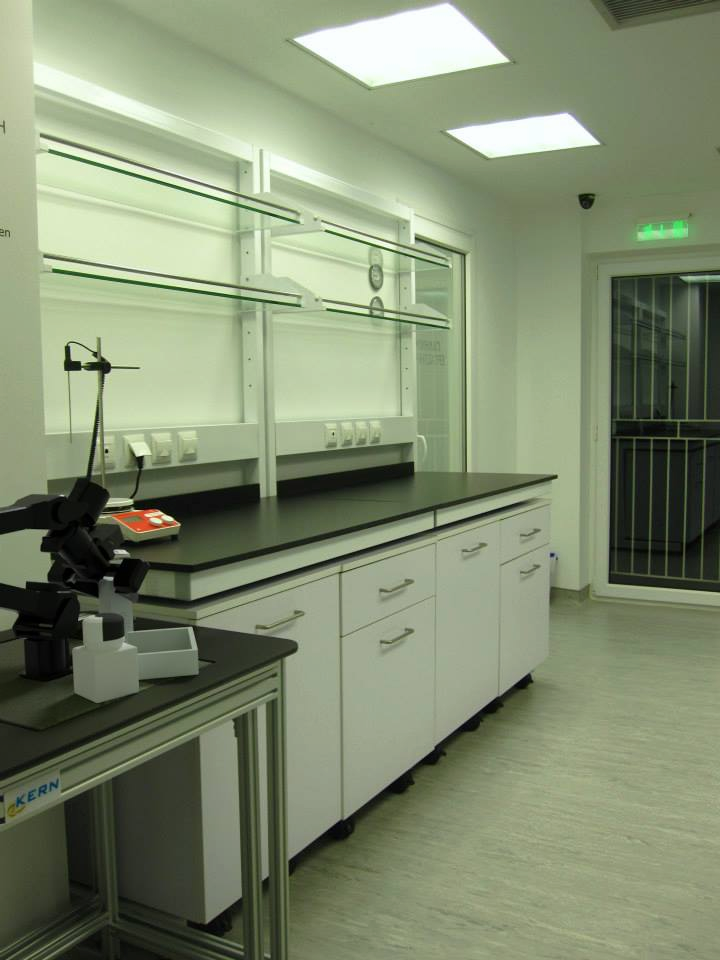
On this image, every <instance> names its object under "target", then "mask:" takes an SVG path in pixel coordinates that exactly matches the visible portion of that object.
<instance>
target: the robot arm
mask: <svg viewBox="0 0 720 960" xmlns="http://www.w3.org/2000/svg"><path fill="white" fill-rule="evenodd" d="M110 497H111V495H110V492H109V490H108V489H107V488H106V487H105V488H104V487H103V486H101V485H100V484H98V483H96V482H93V481H91V480H90V479H89V477H77V480H76V481H75V483H74V486H73V487H72V489H71V491H70V492H69V495H68V496H66V495H64V494H50V493H49V494H47V493H46V494H44V493H39V494H38V493H32V494H28V495H25V496H23V497H21V498H18V499H17V500H16V501H15V502H14V503H13V504H11V505H7V506H1V507H0V536H2V535H5V534H12V533H15V532H20V531H26V530H39V531H40V530H42V531H43V530H44V531H47V532H46V533H45V535H43V536H41V543H40V547H39V551H40V553H49V554H50V553H51V554H57V556H56V558H55V560H54V561H53V563H52V565H51V567H50V568H49V570H48V572H47V573H46V579H47V580H46V581H47V582H42V581H31V580H26V581H25V588H24V587H20V586H17V585H16V586H15V585H12V584H8V583H3V582H0V610H3V611H9V612H12V613H13V612H14V613H16V614H17V615H18V616H17V617H16V619H15V621H14V623H13V625H12V626H11V627H12V632H13V634H14V637H15V638H18V639H19V638H21V639H22V638H24V639H23V651H24V653H23V654H24V669H25V670H22V671H20V672H18V676H19V677H25V678H30V679H32V680H33V679H34V680H40V681H49V680H52V679H55V678H58V677H61V676H63V675H66V674H69V673H72V672H73V665H72V666H71V656H70V654H71V653H70V652H71V650H70V641H69V640H68V638H70V637H74V636H75V635H76V633H77V630H78V629H77V628H78V624H79V623H78V622H79V617H80V612H81V603H80V601H79V599H78V597H79V596H78V594H77V593H79V594H83V595H85V596H89V597H91V598H95V599H98V600H99V592H98V583H99V581H101V580H102V579H103V578H104V577H114V578H113V586H114V587H115V588H116V590H115V592H114V593H116V594H118V595H120V596H122V597H124V598H126V599H128V600H130V601H132V603H137V602H138V600H139V598H140V597H139V590H140V588H141V586H142V584H143V582H144V580H145V578H146V577H147V574H148V572H149V570H150V568H151V565H150V563H149V562H148V561H147V559H146V558H145V557H137V556H130V557H126V558H124V559H123V561H122V562H121V564H115V563H110V560H113V559H114V557H115V555H116V554H115V553H114V552H113V551H114V550H117V548H118V547H119V546H120V545H121V544H124V542H125V541H126V540H125V537H124V533H123V532H122V529H121V526H120V524H118V523H117V524H115V523H101V524H96V523H97V522H98V520H99V519H100V517H101V515H102V513H103V511H104V509H105V508H106V506H107V504H108V502H109V501H110ZM42 625H45V626H42ZM47 625H48V626H47Z"/></svg>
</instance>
